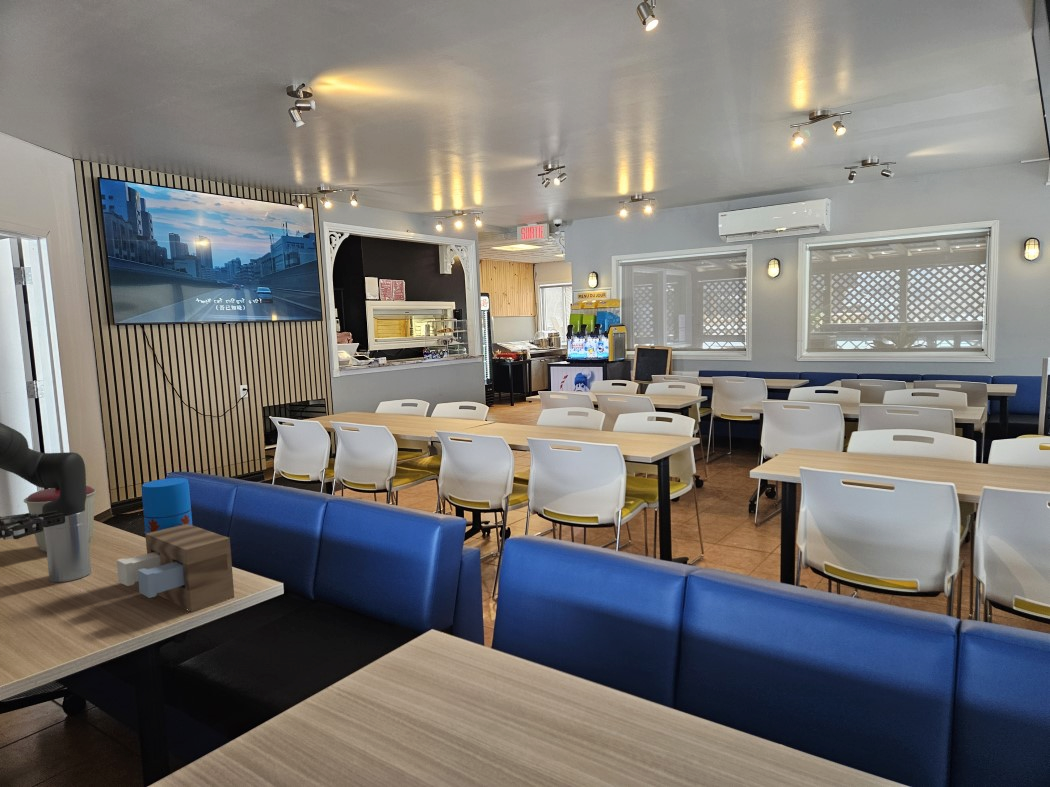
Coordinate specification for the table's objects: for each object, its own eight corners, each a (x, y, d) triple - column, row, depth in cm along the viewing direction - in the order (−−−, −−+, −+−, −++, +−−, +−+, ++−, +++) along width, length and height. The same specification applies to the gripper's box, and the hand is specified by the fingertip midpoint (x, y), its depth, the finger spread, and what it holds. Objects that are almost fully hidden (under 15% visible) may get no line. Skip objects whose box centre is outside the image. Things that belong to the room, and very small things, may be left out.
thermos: (176, 584, 164) (167, 487, 162) (139, 582, 166) (130, 487, 164) (205, 569, 175) (197, 477, 172) (170, 567, 177) (162, 477, 175)
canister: (26, 548, 199) (18, 480, 197) (95, 534, 211) (89, 470, 209) (33, 562, 186) (25, 489, 184) (107, 546, 198) (100, 478, 196)
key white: (118, 581, 153) (116, 560, 152) (169, 566, 162) (168, 546, 161) (127, 586, 150) (125, 564, 149) (179, 570, 158) (177, 550, 158)
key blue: (139, 592, 145) (137, 570, 145) (192, 576, 154) (190, 555, 154) (149, 598, 142) (147, 574, 142) (202, 581, 151) (200, 559, 150)
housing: (150, 590, 161) (145, 533, 159) (191, 578, 168) (187, 523, 167) (191, 612, 147) (186, 549, 146) (234, 597, 155) (229, 537, 153)
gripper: (-35, 524, 123) (71, 504, 137) (-52, 513, 132) (49, 495, 145) (-31, 563, 124) (74, 538, 137) (-48, 549, 133) (52, 528, 146)
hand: (61, 516), depth 141 cm, fingers open, 3 cm apart
